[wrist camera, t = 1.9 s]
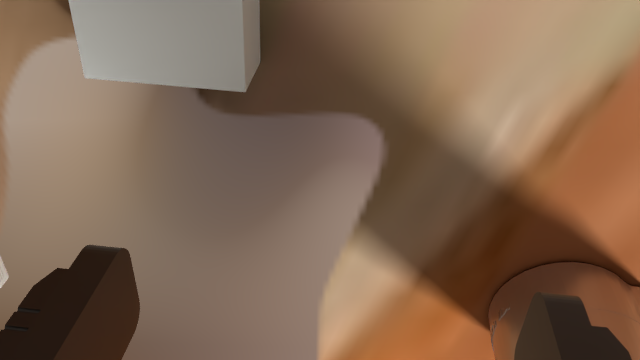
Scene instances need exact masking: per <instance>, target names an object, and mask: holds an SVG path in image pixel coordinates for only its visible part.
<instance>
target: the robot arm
mask: <svg viewBox="0 0 640 360" xmlns="http://www.w3.org/2000/svg"><path fill="white" fill-rule="evenodd" d="M139 311H140V303H139V298H138V292H137V287H136V282H135V277H134V272H133V267H132V263H131V258H130V254H129V252H128V250H127V249H125V248H114V247H106V246H96V245H87V246H85V247H84V248H83V249H82V251H81V252H80V253H79V255H78V256H77V258H76V259H75V261H74V262H73V264H72V265H71V267H70V268H69V269H62V268H57V269H55V270H54V271H53V272H51V273H50V274H49V275H47V276H46V277H45V278H43V279H42V280H41V281H39V282H38V283H37V284H36V285H34V286H33V287H32V289H31V290H30V291H29V293H28V294H27V296H26V297H25V298H24V300H23V301H22V302H21V304H20V305H19V307H18V311H17V312H14V313H13V315H12V316H11V317H10V319H9V320H8V322H7V323H6V325H5V329H4V330H1V331H0V360H121V359H122V357H123V355H124V353H125V351H126V349H127V347H128V345H129V343H130V340H131V339H132V336H133V334H134V332H135V330H136V326H137V323H138V318H139ZM488 319H489V325H490V331H491V342H492V347H493V351H494V355H495V360H640V287H635V286H631V285H628V284H627V283H625V282H624V281H623V280H622V279H621V278H619V277H618V276H617V275H616V274H614V273H612V272H610V271H608V270H606V269H604V268H602V267H598V266H595V265H591V264H586V263H577V262H562V263H552V264H547V265H542V266H538V267H535V268H533V269H530V270H527V271H525V272H523V273H521V274H519V275H517V276H515V277H513V278H512V279H511V280H509V281H508V282H507V283H506V284H504V285H503V286H502V287H501V288H500V289H499V291H498V292H497V293H496V294H495V296H494V297H493V300H492V302H491V304H490V306H489V313H488Z"/></svg>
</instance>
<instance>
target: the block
mask: <svg viewBox="0 0 640 360" xmlns="http://www.w3.org/2000/svg"><path fill="white" fill-rule="evenodd" d="M68 1H69V6H70V10H71V15H72V20H73V25H74V29H75V34H76V39H77V43H78V48H79V53H80V58H81V63H82V68H83V72H84V77H85V78H89V79H100V80H111V81H123V82H134V83H146V84H157V85H169V86H180V87H191V88H202V89H214V90H225V91H237V92H246V90H247V88H248V86H249V84H250V82H251V80H252V78H253V76H254V74H255V72H256V70H257V68H258V66H259V64H260V62H261V61H260V6H259V0H68Z"/></svg>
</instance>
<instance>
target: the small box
mask: <svg viewBox="0 0 640 360" xmlns="http://www.w3.org/2000/svg"><path fill="white" fill-rule="evenodd" d="M8 277H9V275H8V273H7V270H6V268H5V265H4V263H3V261H2V258H1V256H0V288H1V287H2V286H3V284H4V283H5V282H6V280H7V279H8Z"/></svg>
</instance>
